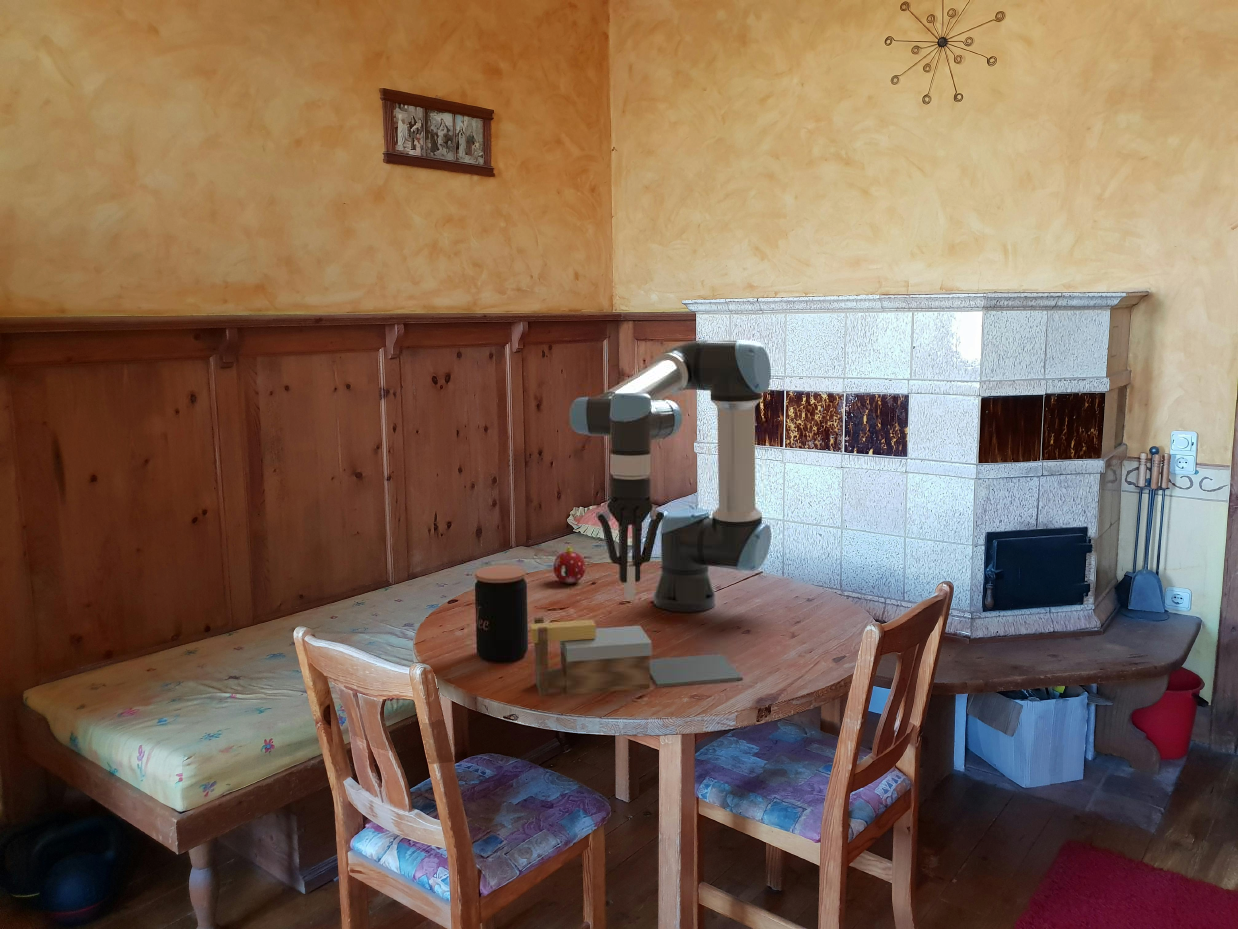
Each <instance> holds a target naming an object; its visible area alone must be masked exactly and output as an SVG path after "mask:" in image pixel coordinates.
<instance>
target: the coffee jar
mask: <svg viewBox="0 0 1238 929" xmlns="http://www.w3.org/2000/svg"><path fill="white" fill-rule="evenodd" d="M526 576H527V570H526V569H525V568H524V567H522V566H519V565H518V566H517V565H509V564H507V565H506V564H505V565H504V564H503V565H502V564H498V565H490V566H485V567H481V568H478V569H477V570H476V571H475V572H474V577H475V579H476V582H475V583H474V600H475V601H474V604H475V605H474V606H475V637H476V638H475V641H476V642H475V643H476V644H475V645H476V653H477V655H478V657H479V658H480V660H482V661H483V662H487V663H492V664H506V663H507V664H509V663H514V662H517V661H519V660H522V659H523V658H524V657H525V655H526V654H527V652H528V650H529V634H528V633H529V631H528V627H529V626H528V582H527V581H526V579H525V578H526Z"/></svg>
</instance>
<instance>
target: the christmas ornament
mask: <svg viewBox="0 0 1238 929" xmlns="http://www.w3.org/2000/svg"><path fill="white" fill-rule="evenodd" d="M586 567H587V566H586V561H585V560H584V558H583V557H582V556H581V555H580V554H579V553H578V552H576V551H573V549H572V547H571V546H568V547H567V548H566V551H564V552H562V553H560V554H559V555H558V556H557V557H556V558H555V560H554V562H553V567H552V568H553V573H554V575H555V578H556V579H557V580H558V581H560V582H562V583H563V584H567V585H571V584H575V583H578V582H579V581H581V580H582V578H583V577H584V575H585V573H586Z"/></svg>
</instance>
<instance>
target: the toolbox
mask: <svg viewBox="0 0 1238 929" xmlns="http://www.w3.org/2000/svg"><path fill="white" fill-rule="evenodd" d="M544 620H545V619H544V617H534V621H533V622H534V623H533V624H538V623H545V622H544ZM548 646H549V644H548V633H547V627H538V643H534V660H535V661H534V665H535V666H534V667H535V670H534V672H535V674H534V676H535V685H536V688H537V692H538V696H539V697H540V698H543V697H549V694H560V693H565V695H579V694H590V693H591V694H592V693H602V692H603V693H604V692H615V691H626V690H627V691H628V690H638V689H649V688H651V676H650V659H651V655H648V656H635V657H622V658H609V659H595V660H582V661H569V662H567V660H566V657H565V655H564V653H563V650H562V648H561V647H560V667H559V668H549V650H548V649H549V648H548Z"/></svg>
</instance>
